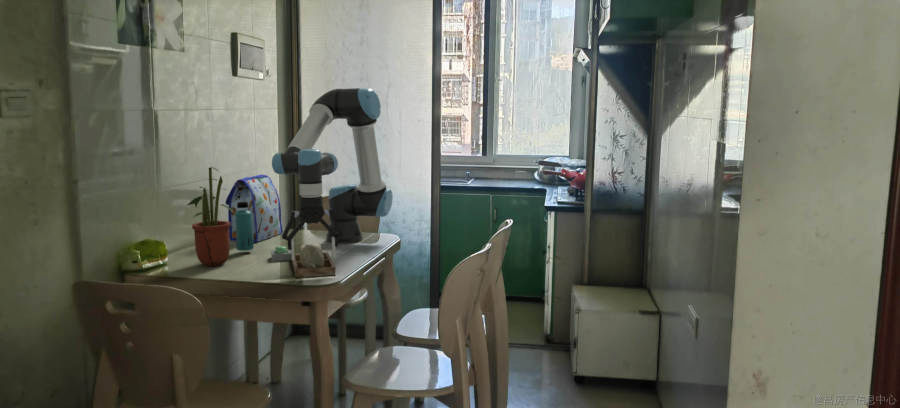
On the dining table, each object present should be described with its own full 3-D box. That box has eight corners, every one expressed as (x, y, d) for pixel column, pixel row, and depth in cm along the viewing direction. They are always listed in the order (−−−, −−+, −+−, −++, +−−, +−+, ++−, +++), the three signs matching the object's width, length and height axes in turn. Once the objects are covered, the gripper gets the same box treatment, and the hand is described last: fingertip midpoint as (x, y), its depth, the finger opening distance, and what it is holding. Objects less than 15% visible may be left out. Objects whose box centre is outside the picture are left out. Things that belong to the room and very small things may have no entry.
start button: (286, 256, 257) (286, 245, 256) (287, 258, 253) (286, 248, 252) (275, 257, 256) (275, 246, 255) (276, 259, 252) (275, 248, 251)
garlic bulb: (321, 279, 233) (325, 253, 229) (296, 275, 232) (299, 250, 228) (324, 264, 242) (328, 239, 238) (300, 261, 241) (303, 236, 236)
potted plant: (200, 260, 256) (195, 166, 251) (243, 259, 257) (238, 165, 252) (185, 272, 239) (178, 171, 234) (231, 271, 240) (225, 170, 235)
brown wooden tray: (328, 260, 255) (327, 252, 255) (335, 276, 231) (335, 267, 231) (291, 262, 252) (291, 254, 251) (295, 279, 228) (295, 270, 228)
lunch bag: (251, 232, 314) (248, 173, 310) (285, 233, 310) (282, 173, 306) (223, 242, 292) (220, 178, 288) (259, 243, 288) (256, 179, 284)
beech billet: (320, 259, 252) (319, 243, 251) (322, 264, 245) (321, 247, 244) (300, 261, 250) (300, 244, 249) (302, 265, 243) (301, 248, 242)
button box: (290, 258, 259) (290, 249, 258) (291, 262, 252) (291, 253, 251) (271, 259, 257) (271, 250, 256) (272, 264, 250) (271, 254, 250)
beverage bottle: (249, 254, 266) (246, 203, 263) (233, 254, 267) (230, 202, 265) (257, 251, 272) (254, 200, 270) (241, 250, 274) (239, 200, 271)
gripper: (347, 192, 239) (349, 253, 242) (272, 196, 232) (275, 258, 236) (349, 195, 232) (351, 257, 235) (273, 198, 225) (276, 262, 228)
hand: (313, 257), depth 235 cm, fingers open, 13 cm apart
